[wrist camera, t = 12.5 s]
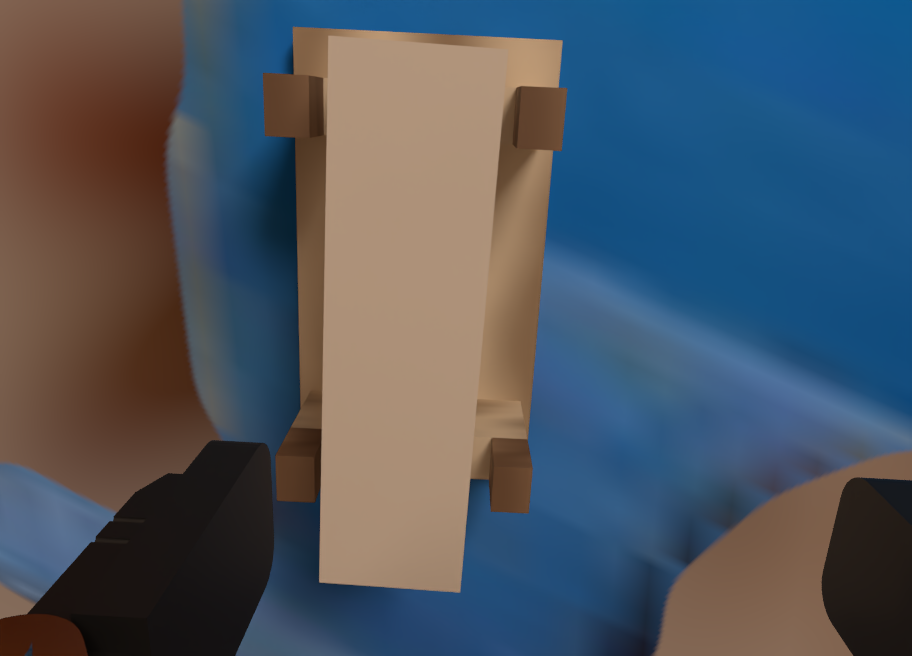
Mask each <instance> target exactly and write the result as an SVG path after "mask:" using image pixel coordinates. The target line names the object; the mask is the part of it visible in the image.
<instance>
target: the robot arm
mask: <svg viewBox="0 0 912 656" xmlns="http://www.w3.org/2000/svg"><path fill="white" fill-rule="evenodd" d="M273 551H274V527H273V504H272V481H271V460H270V452H269V449H268V446H267V445H266V444H265V443H253V442H235V441H217V440H216V441H215V440H212V441H210V442H209V443H208V444H207V445H206V446H205V447H204V448H203V450H202V451H201V452H200V453H199V455H198V456H197V457H196V458H195V460H194V461H193V462H192V463H191V464H190V466H189V467H188V468H187V469H186V471H185V472H184V473H183V474H172V473H171V474H170V473H168V474H166V475H164V476H163V477H161V478H159V479H157V480H156V481H154V482H153V483H151V484H149V485H147V486H146V487H144V488H142V489H140V490H139V491H137V492H135V494H134V495H133V496H132V497H131V498H130V499H129V500H128V501H127V503H125V505H124V506H123V507H122V508H121V509H120V510H119V511H118V512H117V513H116V515H115V516H114V520H113V521H109V522H108V524H107V525H106V526H105V527H104V528H103V529H102V530H101V531H100V533H99V534H98V535H97V536H96V540H95V542H91V543H90V544H89V545H88V546H87V547H86V548H85V549H84V551H83V552H82V553H81V554H80V555H79V556H78V557H77V558H76V560H75V561H74V562H73V563H72V564H71V565H70V566H69V567H68V569H67V570H66V571H65V572H64V573H63V574H62V575H61V576H60V578H59V579H58V580H57V581H56V582H55V583H54V584H53V585H52V587H51V588H50V589H49V590H48V591H47V592H46V593H45V594H44V596H43V597H42V598H41V599H40V600H39V601H38V602H37V603H36V605H35V606H34V607H33V608H32V609H31V610H30V611H29V612H28V614H25V615H17V616H11V617H6V618H2V619H0V656H235V655H236V652H237V650H238V648H239V646H240V644H241V641H242V639H243V637H244V635H245V632H246V630H247V628H248V626H249V623H250V621H251V619H252V617H253V615H254V612H255V610H256V608H257V606H258V603H259V601H260V599H261V597H262V594H263V592H264V590H265V588H266V585H267V582H268V579H269V575H270V571H271V566H272V560H273ZM822 595H823V601H824V606H825V609H826V612H827V615H828V617H829V619H830V621H831V623H832V624H833V626H834V627H835V629H836V630H837V632H838V633H839V635H840V636H841V638H842V639H843V641H844V642H845V644H846V645H847V647H848V648H849V650H850V651H851V653H852V654H853V656H912V481H910V480H893V479H875V478H853V479H851V480H850V481H849V482H847V484H846V485H845V487H844V489H843V492H842V495H841V498H840V503H839V507H838V511H837V515H836V519H835V524H834V528H833V532H832V536H831V540H830V544H829V548H828V553H827V557H826V561H825V565H824V569H823V575H822Z"/></svg>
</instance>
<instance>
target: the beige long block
mask: <svg viewBox="0 0 912 656" xmlns="http://www.w3.org/2000/svg"><path fill="white" fill-rule="evenodd" d="M507 59H508V49H496V48H483V47H471V46H458V45H445V44H432V43H419V42H406V41H393V40H380V39H367V38H354V37H341V36H328V88H327V147H326V207H325V267H324V326H323V386H322V445H321V505H320V565H319V582H320V583H334V584H348V585H362V586H376V587H390V588H405V589H419V590H433V591H447V592H460V587H461V576H462V565H463V553H464V542H465V531H466V520H467V509H468V497H469V486H470V475H471V464H472V452H473V441H474V430H475V419H476V407H477V396H478V385H479V374H480V363H481V351H482V340H483V329H484V318H485V306H486V295H487V284H488V273H489V262H490V250H491V239H492V228H493V217H494V205H495V194H496V183H497V172H498V160H499V149H500V138H501V127H502V116H503V104H504V93H505V82H506V71H507Z"/></svg>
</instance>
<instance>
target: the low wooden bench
mask: <svg viewBox="0 0 912 656" xmlns="http://www.w3.org/2000/svg"><path fill="white" fill-rule="evenodd" d="M328 36H341V37H354V38H367V39H380V40H393V41H406V42H419V43H432V44H445V45H458V46H471V47H483V48H496V49H508V59H507V71H506V82H505V93H504V104H503V116H502V127H501V138H500V149H499V160H498V172H497V183H496V194H495V205H494V217H493V228H492V239H491V250H490V262H489V273H488V284H487V295H486V306H485V318H484V329H483V340H482V351H481V363H480V374H479V385H478V396H477V407H476V419H475V430H474V441H473V452H472V464H471V475H470V479H488V480H489V489H490V506H491V512H511V513H529V503H530V492H531V481H532V470H533V468H532V462H531V457H530V451H529V446H528V430H529V419H530V407H531V396H532V384H533V373H534V361H535V350H536V339H537V327H538V316H539V304H540V293H541V281H542V270H543V258H544V247H545V235H546V224H547V212H548V201H549V190H550V178H551V167H552V155H553V150H554V151H562V140H563V129H564V118H565V107H566V96H567V88H558V86H559V75H560V63H561V52H562V40H542V39H522V38H502V37H483V36H463V35H443V34H423V33H404V32H384V31H364V30H344V29H325V28H305V27H293V57H294V74H275V73H263V90H264V120H265V136H276V137H295V156H296V205H297V255H298V304H299V354H300V403H301V410H300V411H299V413H298V415H297V417H296V419H295V421H294V422H293V424H292V426H291V428H290V430H289V432H288V433H287V435H286V437H285V439H284V441H283V443H282V444H281V446H280V448H279V450H278V452H277V454H276V455H275V457H276V487H277V501H292V502H312V503H315V501H316V498H317V495H318V493H319V490H320V487H321V445H322V386H323V326H324V267H325V207H326V147H327V88H328Z"/></svg>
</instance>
